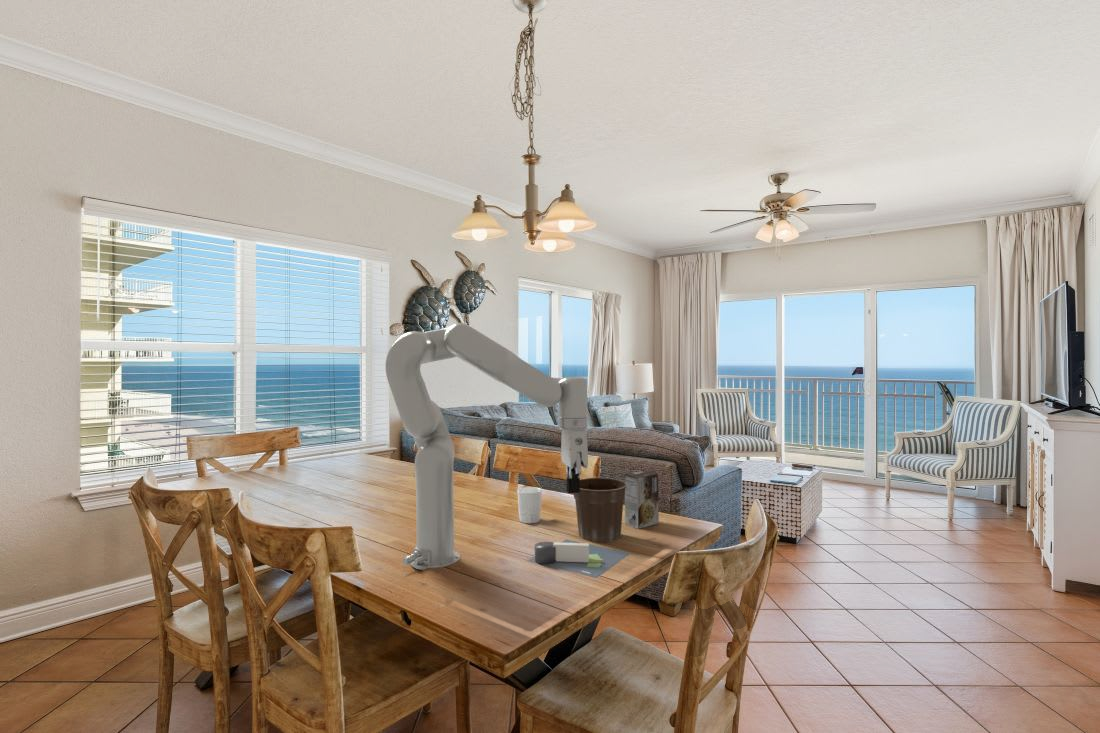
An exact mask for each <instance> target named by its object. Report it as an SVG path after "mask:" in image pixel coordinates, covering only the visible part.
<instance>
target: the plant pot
mask: <svg viewBox="0 0 1100 733" xmlns="http://www.w3.org/2000/svg"><path fill="white" fill-rule="evenodd" d="M626 487H627V483H626V482H625V480H621V479H617V478H610V477H588V478H580V492H579V493H573V498H574V500H575V509H576V517H577V518H576V520H577V529H578V530H577V531H578V536H579V537H580V538H581V539H582V540H584V541H588V542H592V543H609V542H610V543H611V542H614V541H617V540H619V539H620V538H621V536H622V526H623V524H622V522H623V511H624V501H625V488H626Z"/></svg>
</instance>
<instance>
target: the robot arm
mask: <svg viewBox="0 0 1100 733" xmlns="http://www.w3.org/2000/svg"><path fill="white" fill-rule="evenodd" d="M385 358H386V360H385V374H386V380H387V383H388V385H389V388H390V391H391V393H392V396H393V400H394V402H395V406H396V409H397V411H398V414H399V416H400V420H401V423H402V426H403V428H404V430H405V432H407V434H408V435H410V436H411V437H413V439H414V442H415V446H416V448H417V452H416V453H415V457H414V465H413V466H414V475H415V476H414V478H415V479H414V480H415V481H414V482H415V506H416V507H415V508H416V509H415V510H416V511H415V512H416V513H415V515H416V516H415V518H416V523H415V524H416V546H415V547H413V552H412V553H411V554H410V555H406V556H404V557H402V560H401V561H402V564H403V566H407V565H411V566H412V567H413V568H414V569H416V570H419V571H425V570H427V569H431V568H432V569H435V568H443V567H448V566H450V565H454V564H455V563H456V562H458V561H459V560H460V559H461V554H460V553H459V552H458V551H455V526H454V525H455V516H454V515H455V511H454V510H455V507H454V506H455V504H454V503H455V501H454V498H455V497H454V496H455V494H454V493H455V492H454V460H455V455H456V449H455V445H454V443H453V439H452V437H451V434H450V431H449V428H448V426H447V424H446V420H445V417H444V415H443V413H442V411H441V408H440V407H439V405H438V404H437V403H436V402H435V401H434V400H432V399H431V397H430V394H429V392H428V389H427V386H426V382H425V380H424V378H423V376H422V372H421V365H423V364H427V363H433V362H440V361H443V360H447V359H453V358H458V359H460V360H462V361H463V362H466V363H467V364H469V365H470V366H472V367H473V368H474V369H477V370H479V371H480V372H482V373H484V374H485V375H487V376H488V377H490V378H491V379H493V380H495V381H497V382H499V383H501V384H503V385H505V386H507V387H509V388H511V389H512V390H514V391H515V392H517V393H519V394H521V395H523V396H524V397H525V398H526V399H527V398H528V400H530V401H532V402H534V403H535V404H537V405H539V407H540V406H541V407H545V408H550V407H553V406H555V405H557V404H559V405H558V418H559V420H558V430H560V431H561V438H560V442H561V445H560V453H561V454H560V456H561V457H560V459H561V462H562V464H564V465H565V472H566V474H565V475H566V492H567V493H568V494H574V493H579V492H580V479H581V474H582V467H583V468H585V469H586V468H588V467H589V452H588V451H589V450H588V448H589V447H588V438H587V431H588V380H587V379H586V378H584V377H576V376H574V377H573V376H572V377H571V376H568V377H561V378H560V377H551V376H550V375H547V374H546V373H545V372H543V371H541V370H540V369H538V368H536V367H535V366H533V365H532V364H530V363H528V362H527V361H525V360H523V359H522V358H520V357H519V356H517V354H516V353H514V352H513V351H511V350H509V349H508V348H506V347H505V346H504V345H502V344H500V343H499V342H497V341H495V340H493V339H492V338H490V337H489V336H487V335H485V334H484V333H481V332H480V331H479V330H477V329H475V328H473V327H472V326H470V325H469V324H467V323H462V322H458V323H454V324H452V325H450V326H449V327H445V328H440V329H433V330H429V331H424V332H423V331H415V330H414V331H413V330H411V331H409V332H405V333H403V334H402V335H401V336H399V337H398V338H397V339H396V340H395V342H394V343H393V344H392V345H391V346H390V348H389V350H388V352H387V354H386V357H385Z"/></svg>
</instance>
